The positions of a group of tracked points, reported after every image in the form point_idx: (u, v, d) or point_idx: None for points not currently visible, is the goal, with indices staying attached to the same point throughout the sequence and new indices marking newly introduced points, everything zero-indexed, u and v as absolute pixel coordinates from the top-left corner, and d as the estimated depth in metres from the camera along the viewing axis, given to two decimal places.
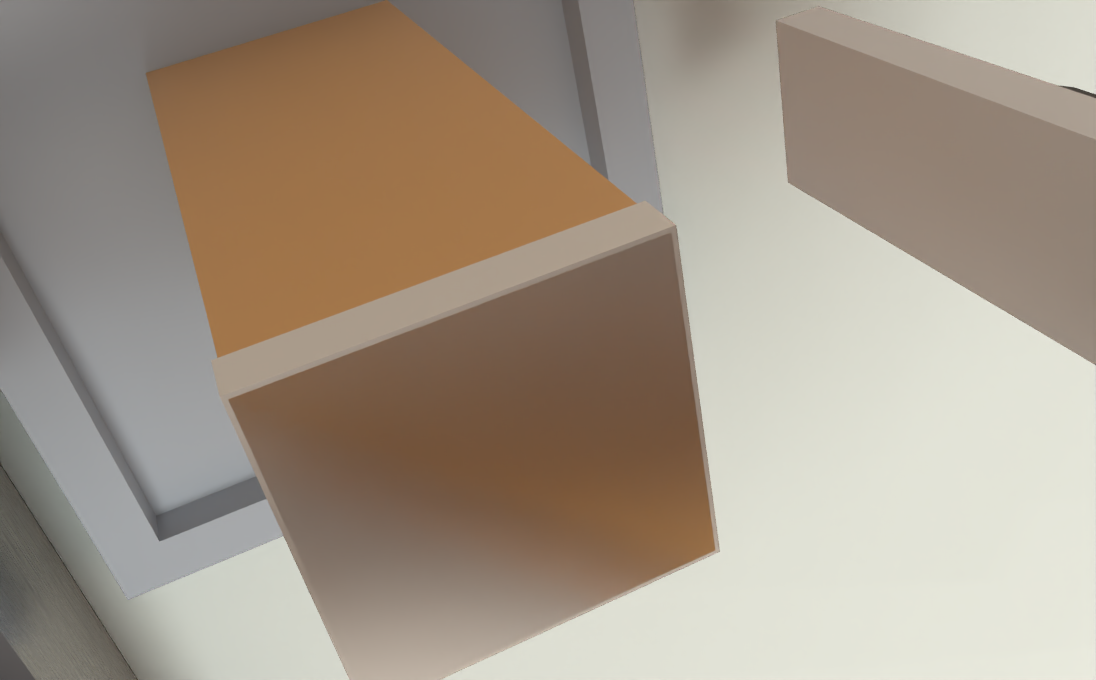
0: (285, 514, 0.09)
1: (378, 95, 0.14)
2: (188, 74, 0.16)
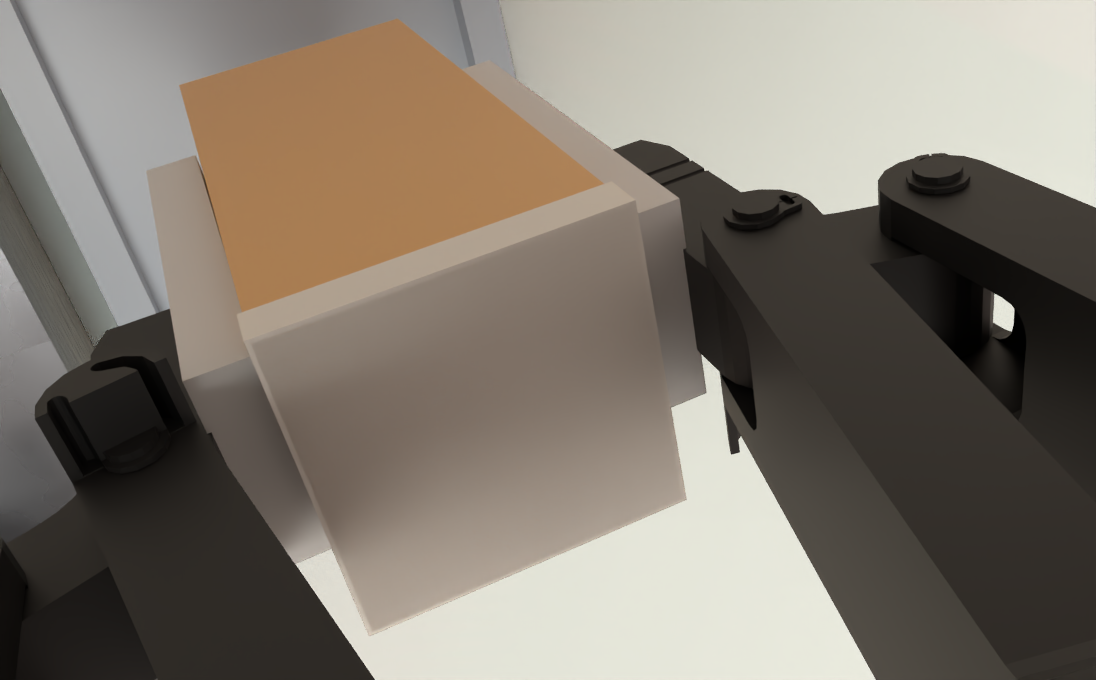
0: (298, 448, 0.11)
1: (386, 99, 0.15)
2: (217, 85, 0.18)
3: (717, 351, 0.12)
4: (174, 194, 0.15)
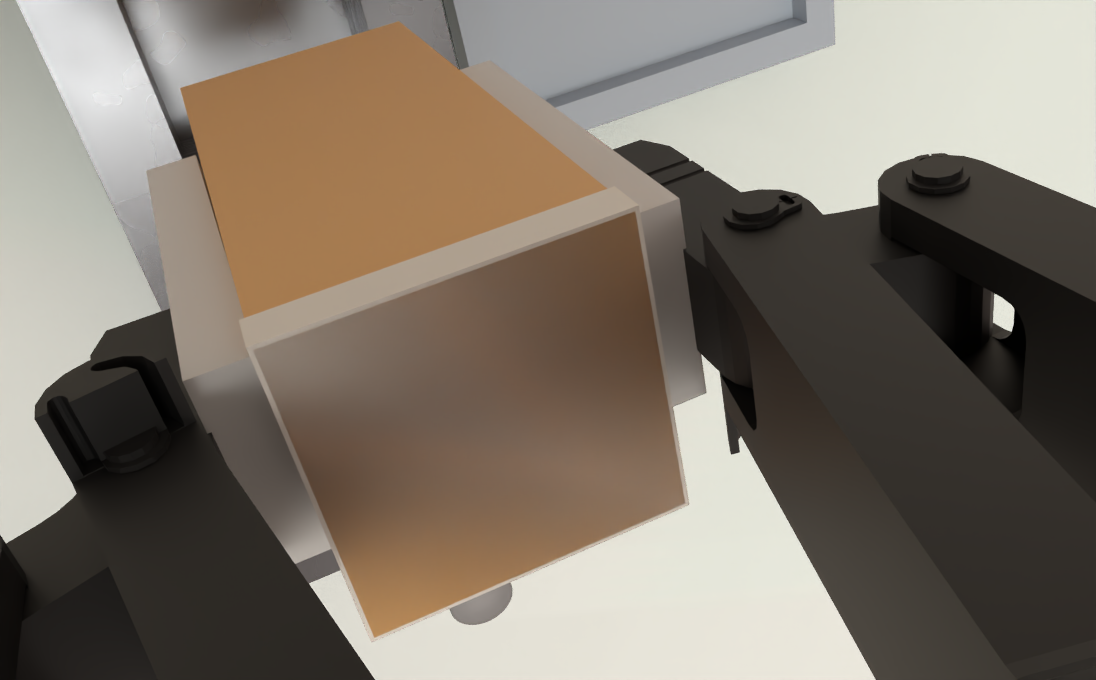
0: (301, 454, 0.11)
1: (388, 104, 0.15)
2: (218, 88, 0.17)
3: (716, 351, 0.12)
4: (175, 194, 0.15)
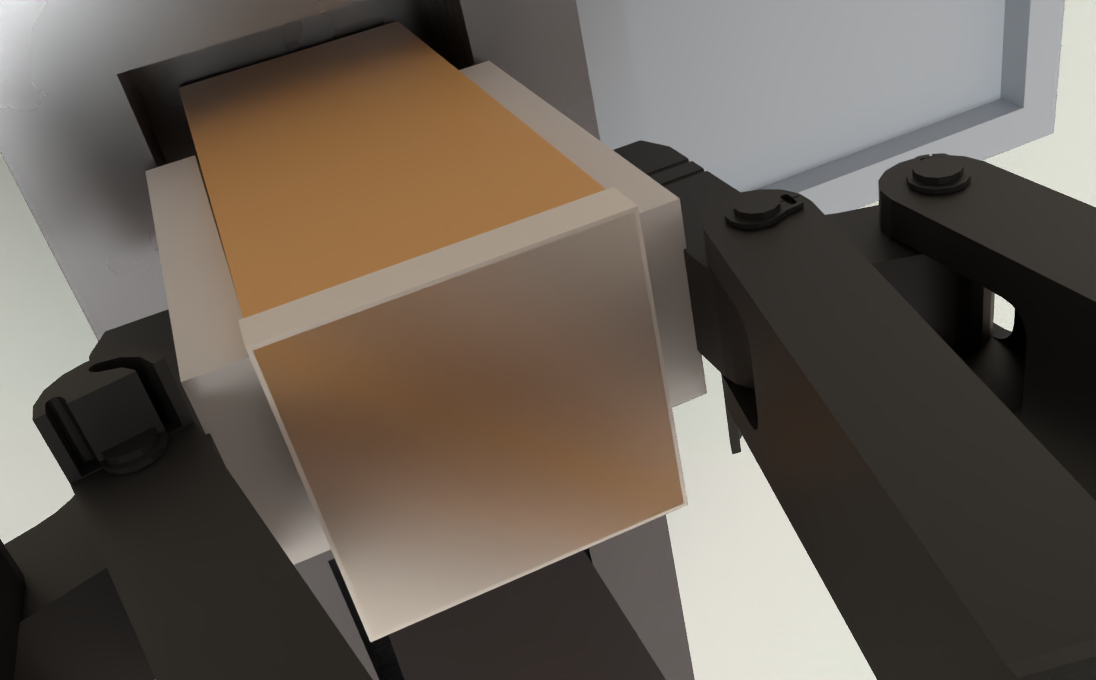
0: (300, 454, 0.11)
1: (387, 104, 0.15)
2: (217, 89, 0.18)
3: (718, 350, 0.12)
4: (174, 195, 0.15)
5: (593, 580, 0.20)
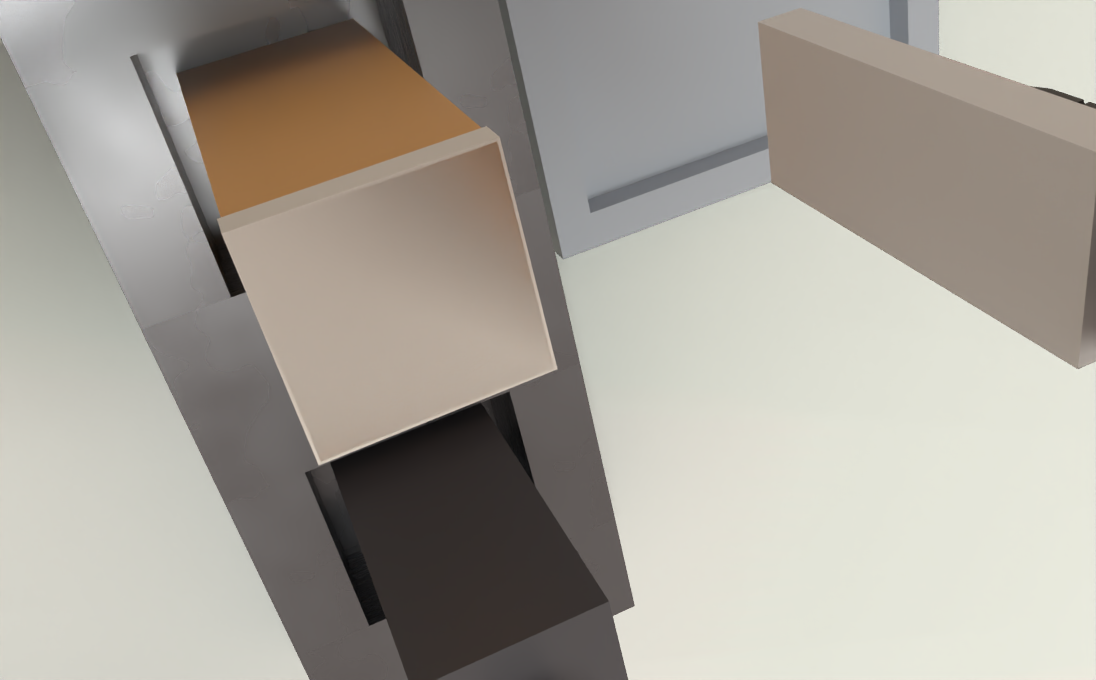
0: (262, 314, 0.15)
1: (337, 78, 0.20)
2: (206, 72, 0.22)
3: None
4: None
5: (524, 482, 0.23)
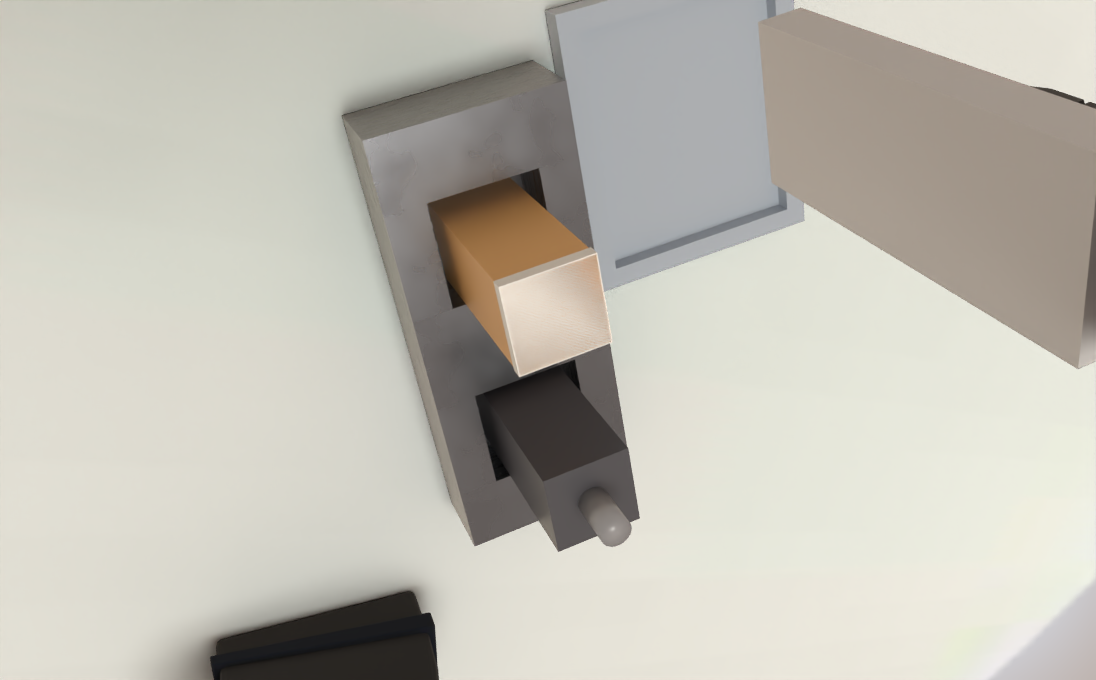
0: (507, 317, 0.40)
1: (515, 214, 0.45)
2: (444, 203, 0.47)
3: None
4: None
5: (585, 401, 0.49)
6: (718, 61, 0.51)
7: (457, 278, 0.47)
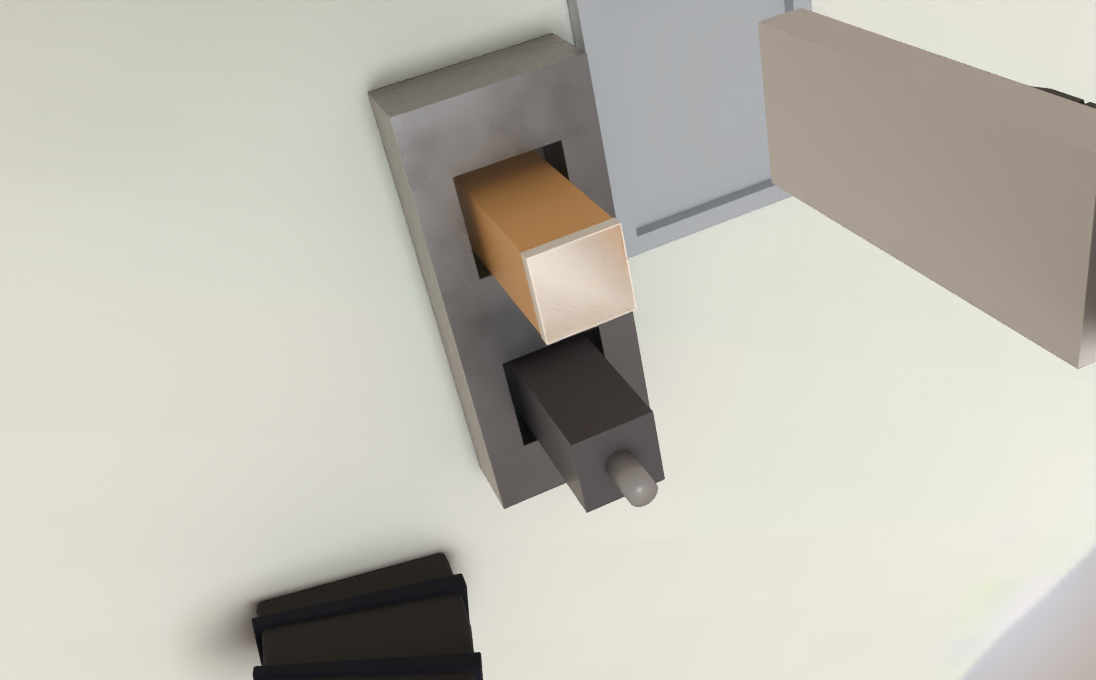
0: (535, 287, 0.41)
1: (539, 186, 0.46)
2: (469, 176, 0.48)
3: None
4: None
5: (609, 367, 0.50)
6: (735, 29, 0.51)
7: (483, 249, 0.48)
